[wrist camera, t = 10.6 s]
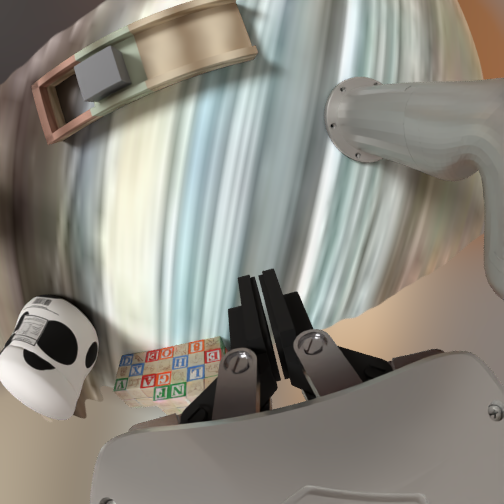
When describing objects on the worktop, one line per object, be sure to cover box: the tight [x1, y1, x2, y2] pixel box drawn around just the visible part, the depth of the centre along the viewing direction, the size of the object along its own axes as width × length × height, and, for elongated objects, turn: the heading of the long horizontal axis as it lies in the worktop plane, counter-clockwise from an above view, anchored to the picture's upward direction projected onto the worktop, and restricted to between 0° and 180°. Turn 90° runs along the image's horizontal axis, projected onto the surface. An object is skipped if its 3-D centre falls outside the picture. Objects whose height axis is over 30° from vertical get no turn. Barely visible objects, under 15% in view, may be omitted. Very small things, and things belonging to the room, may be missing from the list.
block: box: [74, 45, 132, 102], centre depth 23 cm, size 5×5×4 cm
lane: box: [31, 0, 258, 145], centre depth 25 cm, size 28×10×4 cm, turn 106°
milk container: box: [0, 295, 99, 420], centre depth 35 cm, size 17×17×18 cm
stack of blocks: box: [114, 336, 228, 415], centre depth 44 cm, size 21×6×12 cm, turn 104°
